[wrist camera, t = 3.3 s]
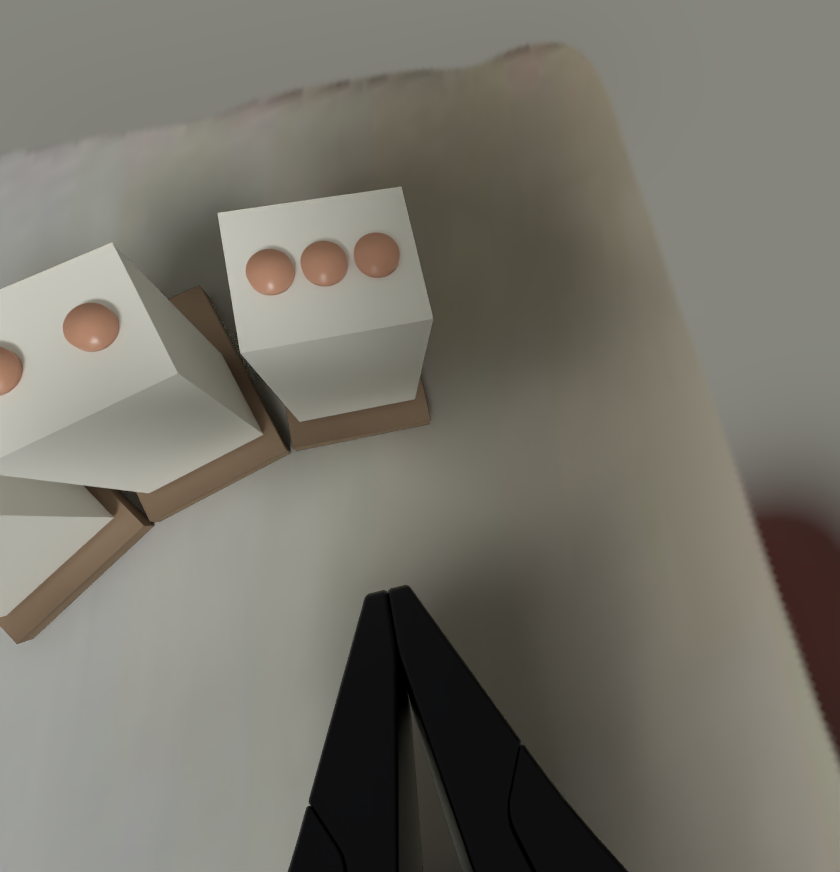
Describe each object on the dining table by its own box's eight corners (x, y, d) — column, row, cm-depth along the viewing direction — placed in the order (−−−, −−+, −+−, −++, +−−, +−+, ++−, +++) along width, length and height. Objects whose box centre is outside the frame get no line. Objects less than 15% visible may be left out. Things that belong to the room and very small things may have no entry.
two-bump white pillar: (263, 434, 19) (173, 370, 11) (148, 493, 18) (-37, 470, 10) (221, 354, 20) (107, 237, 12) (108, 408, 19) (-98, 323, 11)
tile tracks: (408, 255, 22) (409, 245, 21) (448, 584, 19) (451, 587, 19) (-87, 286, 20) (-106, 276, 19) (-120, 658, 17) (-144, 665, 17)
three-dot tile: (414, 399, 20) (434, 315, 12) (299, 421, 19) (237, 350, 11) (395, 314, 21) (401, 181, 12) (283, 334, 20) (214, 207, 12)
